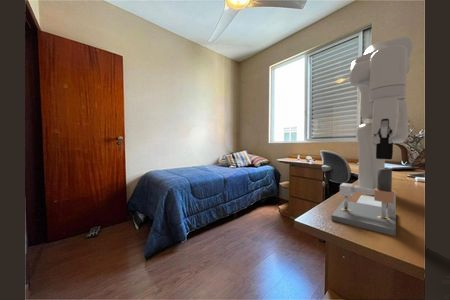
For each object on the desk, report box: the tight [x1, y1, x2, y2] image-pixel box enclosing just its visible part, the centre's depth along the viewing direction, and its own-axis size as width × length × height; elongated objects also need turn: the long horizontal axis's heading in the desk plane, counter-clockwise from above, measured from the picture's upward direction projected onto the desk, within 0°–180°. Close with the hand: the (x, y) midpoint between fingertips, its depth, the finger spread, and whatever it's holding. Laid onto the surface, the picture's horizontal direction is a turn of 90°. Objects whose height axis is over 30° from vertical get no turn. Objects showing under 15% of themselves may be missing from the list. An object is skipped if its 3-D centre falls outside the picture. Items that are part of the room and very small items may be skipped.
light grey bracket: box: [339, 182, 397, 219], centre depth 55 cm, size 5×13×8 cm, turn 47°
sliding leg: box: [373, 167, 395, 217], centre depth 51 cm, size 3×4×14 cm
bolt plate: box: [330, 200, 397, 237], centre depth 56 cm, size 18×14×2 cm
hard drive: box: [356, 194, 388, 207], centre depth 68 cm, size 2×8×12 cm
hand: (384, 157), depth 51 cm, fingers open, 9 cm apart
